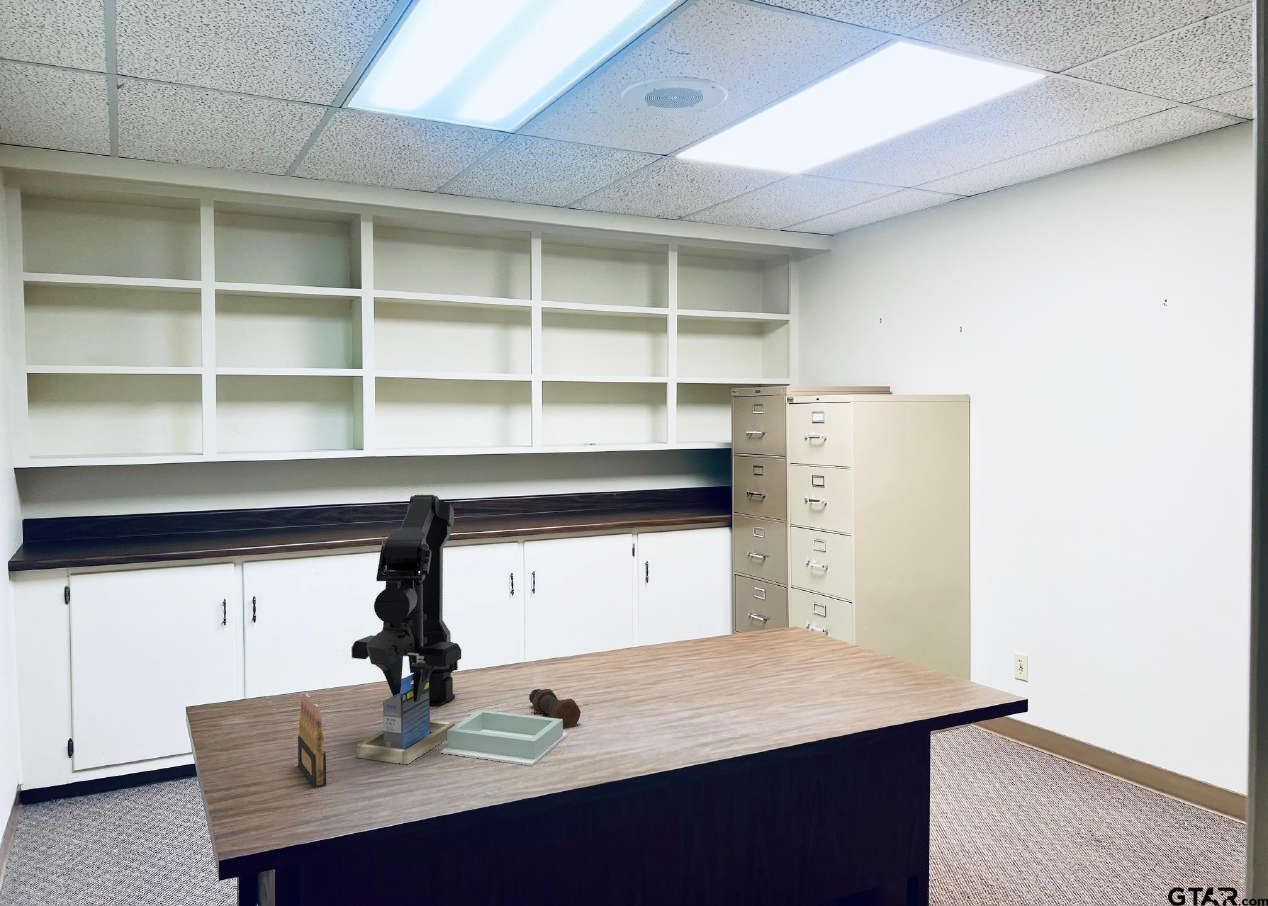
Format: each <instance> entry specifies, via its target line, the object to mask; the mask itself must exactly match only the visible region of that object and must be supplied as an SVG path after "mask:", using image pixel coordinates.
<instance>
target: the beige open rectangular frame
mask: <svg viewBox="0 0 1268 906" xmlns="http://www.w3.org/2000/svg"><path fill="white" fill-rule="evenodd" d="M455 725H456V723H455V722H449V721H441V720H432V719H430V732H431V733H430V734H429V735H427V736H426V737H424V738H422V739H421V740H419V741H417V742H416V743H414V744H413V745H411V746H410V747H408V748H407V749H405V750H404V749H396V748H389V747H384V729H383V730H381V731H380V732H378V733H376V734H374V735H372V736H370V737H369V738H366V739H365V740H363V741H361V742H359V743H357V744H356V745H355V758H356V759H357V758H358V759H364V760H371V761H377V762H378V761H379V762H386V763H392V764H399V763H400V764H401V765H406V764H408V765H409V763H410V764H411V763H413V762H414V761H415V759H416V758H417V759H419V758H420V757H422V756H423V755H425V754H426V752H427V753H428V752H430V751H431V750H433V749H434V748H436V747H437V746H439V745H440V744H442V743H444V742H445V741H447V740H448V732H447V730H449V729H450V728H452V727H454V726H455ZM446 739H447V740H446ZM443 741H444V742H443ZM441 742H442V743H441ZM438 744H439V745H438ZM435 746H436V747H435ZM433 747H434V748H433ZM432 748H433V749H432ZM430 749H431V750H430ZM429 750H430V751H429ZM424 753H425V754H424ZM422 754H423V755H422ZM418 757H419V758H418ZM417 759H416V760H417ZM412 761H413V762H412Z"/></svg>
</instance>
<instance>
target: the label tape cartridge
mask: <svg viewBox="0 0 1268 906" xmlns="http://www.w3.org/2000/svg"><path fill="white" fill-rule="evenodd" d="M412 681H413V673H410V674H409V675H407V676H406V677H403V678H402V679H401V691H400V693H398V694H396V695H394V696H393V695H392V696H391V697H389V698H387V699H385V700H382V701H383V702H382V705H383V706H382V712H383V713H382V719H383V721H382V722H383V730H384V745H383V747H389V748H396V749H404V750H406V749H408V748H409V747H411V746H413V745H414V744H416V743H417V742H419V741H421V740H422V739H424V738H426V737H427V736H429V735H430V734H431V733H430V720H431V716H430V708H431V707H430V705H429V678H428V681H427V683H426V685H425V688H424V690H423V693H422V695H421V697H420V700H419V701H417V702H415V701H414V696H413V683H412Z"/></svg>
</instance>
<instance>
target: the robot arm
mask: <svg viewBox="0 0 1268 906" xmlns="http://www.w3.org/2000/svg"><path fill="white" fill-rule="evenodd" d="M451 504H452V503H450V502H447V501H444V500H442V499H440V498H439V496H438V495H434V494H414V495H411V496H410V498H409V503H408V504H407V512H406V515H405V516H404V519H403V521H402V525H401V527H400V529H399V530H396V531H394V532H391V533H390V534H389V535H388V536H387V538H386V540H385V541H384V544H382V545H381V547H380V548H381V549H380V553H379V560H378V565H377V572H376V579H375V580H376V582H385V588H383V590H381V591H380V592H379V594H377V596H376V598H375V600H374V603H373V610H374V613H375V615H376V616H377V618H378V619H379V620H380V621H382V622H383V623H382V630H381V631H379V632H378V633H376V634H375V635H369V636H366V637H363V638H361V639H357V640H355V641H354V643H353V644H352V646H351V659H359V660H367V659H368V658H369V662H370V664H371V665H374V666H376V667H377V668H379V669H380V670H381V671H382V673H383V675H384V677H385V680H386V682H387V685H388V687H389V690H390V692H391V695H392V697H393V696H394V695H396V694H398V693H400V692H401V679H403V678H402V677H403V664H404V657H408V665H409V666H408V667H409V674H413V682H412V684H413V696H414V701H415V702H417V701H419V700H420V697H421V695H422V693H423V690H424V688H425V685H426V683H427V681H428V678H429V706H435V707H439V706H442V705H444V704H446V703H448V701H451V700H452V698H453V699H454V698H456V694H454V687H453V686H454V685H453V684H454V681H453V680H454V679H453V677H452V673H453V672H454V671H458V670H459V665H458V663H459V661H460V660H462V647H461V646H460V645H459V644H458V643H457V642H453V641H451V639H452V637H451V631H450V629H449V628H448V626H447V624H446V623H445V621H444V619H443V615H444V614H443V613H444V611H443V606H444V605H443V603H444V601H443V595H444V592H443V590H444V586H443V585H444V576H443V575H444V574H443V573H444V547H445V545H446V543H447V542H448V540H449V538H450V537H451V534H452V527H453V528H454V526H455V511H454V508H453V506H452V505H451Z"/></svg>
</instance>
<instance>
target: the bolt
mask: <svg viewBox="0 0 1268 906" xmlns="http://www.w3.org/2000/svg"><path fill="white" fill-rule="evenodd" d="M528 700H529V701H530V703H531V704H532V705H533V707H534V709H535V711H536V712H537V713H539V715H544V714H543V713H546V714H548V716H549V718H556V719H563V730H565V729H570V728H575V727H576V725H577V724H578V722H579V720H580V717H581V715H582V714H581V713H582V712H581V710H580V707H579V705H578V704H577V703H576V701H575V699H573V698H565V699H559V698H557V696H556V693H555V692H554V691H553V690H552V689H550V688H545V689H544V688H543V689H540V688H537V689H536V688H534V689H532V690H531V692H530V694H529V696H528Z"/></svg>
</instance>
